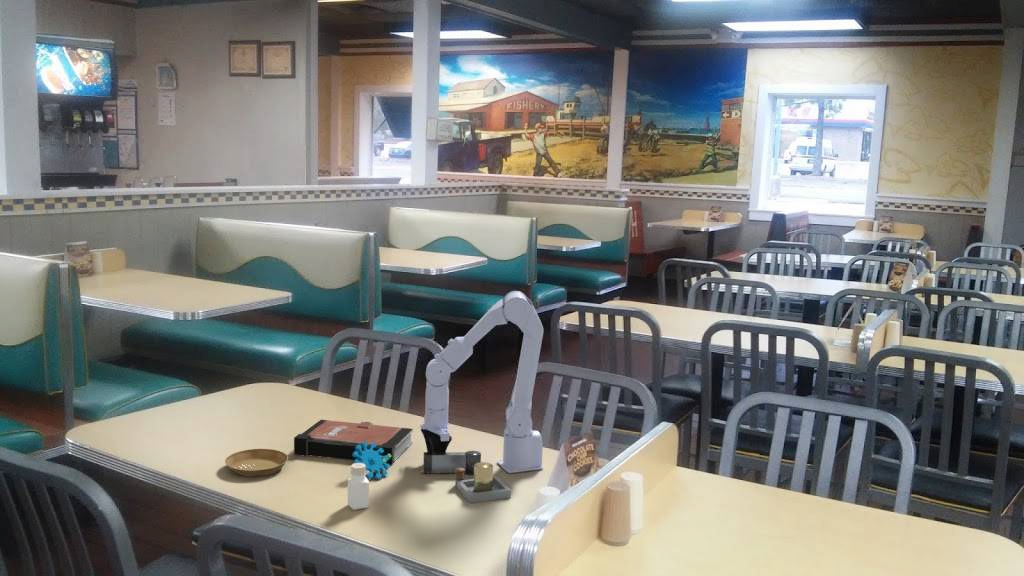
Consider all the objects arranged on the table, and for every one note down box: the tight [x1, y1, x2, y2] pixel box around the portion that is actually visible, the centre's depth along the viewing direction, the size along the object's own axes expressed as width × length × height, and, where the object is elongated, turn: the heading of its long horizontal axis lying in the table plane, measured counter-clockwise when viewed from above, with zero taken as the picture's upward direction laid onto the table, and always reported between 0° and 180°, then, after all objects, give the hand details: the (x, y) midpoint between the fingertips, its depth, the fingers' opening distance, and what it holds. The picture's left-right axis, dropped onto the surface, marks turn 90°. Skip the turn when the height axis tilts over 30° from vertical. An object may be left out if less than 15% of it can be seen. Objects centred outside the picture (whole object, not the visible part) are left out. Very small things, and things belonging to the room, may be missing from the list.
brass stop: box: [473, 461, 494, 493], centre depth 203 cm, size 4×4×6 cm
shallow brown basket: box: [224, 448, 289, 478], centre depth 214 cm, size 15×15×3 cm
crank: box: [422, 450, 482, 475], centre depth 215 cm, size 14×4×5 cm, turn 96°
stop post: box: [454, 468, 465, 488], centre depth 207 cm, size 2×2×4 cm
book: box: [293, 419, 414, 466], centre depth 229 cm, size 26×18×5 cm
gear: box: [352, 442, 391, 480], centre depth 213 cm, size 11×6×10 cm
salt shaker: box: [347, 463, 370, 511], centre depth 193 cm, size 4×4×10 cm
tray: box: [456, 475, 512, 504], centre depth 203 cm, size 10×9×2 cm
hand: (435, 459), depth 220 cm, fingers open, 4 cm apart
